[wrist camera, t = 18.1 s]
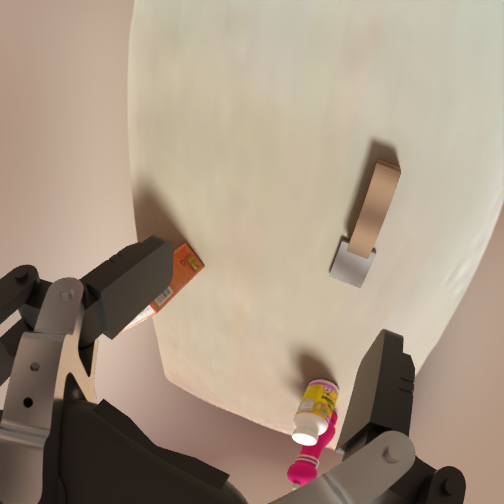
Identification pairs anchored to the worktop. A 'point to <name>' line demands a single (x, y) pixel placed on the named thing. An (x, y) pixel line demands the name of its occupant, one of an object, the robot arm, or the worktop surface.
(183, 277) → the cracker box
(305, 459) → the pepper mill
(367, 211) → the tan flat bar
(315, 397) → the supplement bottle
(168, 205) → the worktop surface
